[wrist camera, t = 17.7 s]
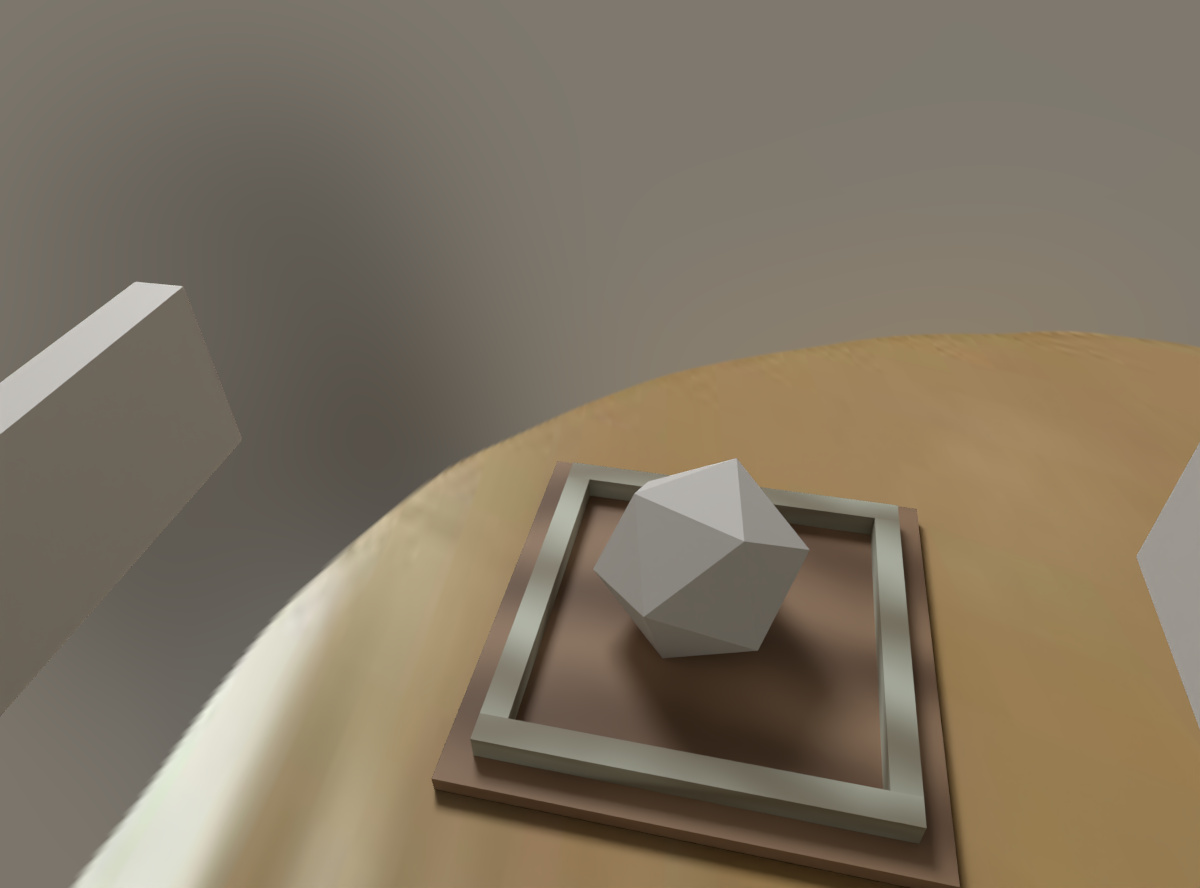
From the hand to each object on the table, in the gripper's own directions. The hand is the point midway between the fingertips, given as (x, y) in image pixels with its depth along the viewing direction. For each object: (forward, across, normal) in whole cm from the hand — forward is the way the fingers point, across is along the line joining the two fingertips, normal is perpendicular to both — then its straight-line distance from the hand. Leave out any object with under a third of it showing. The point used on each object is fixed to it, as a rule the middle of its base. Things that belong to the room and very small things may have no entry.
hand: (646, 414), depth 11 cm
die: (+17, 0, -25) cm, 30 cm away
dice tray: (+16, 0, -25) cm, 30 cm away
